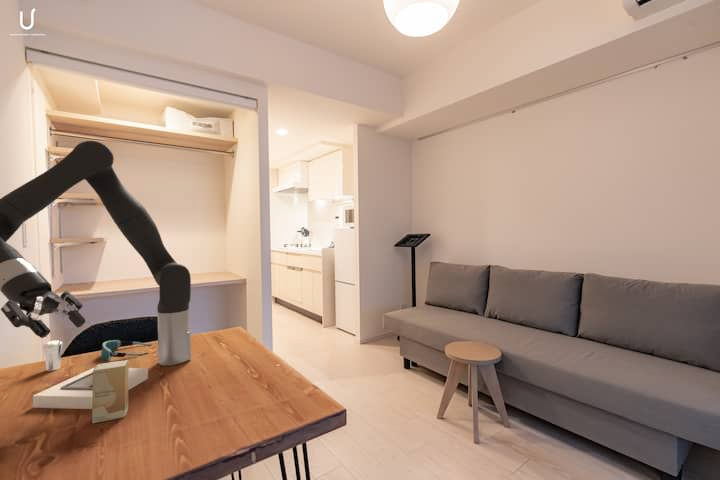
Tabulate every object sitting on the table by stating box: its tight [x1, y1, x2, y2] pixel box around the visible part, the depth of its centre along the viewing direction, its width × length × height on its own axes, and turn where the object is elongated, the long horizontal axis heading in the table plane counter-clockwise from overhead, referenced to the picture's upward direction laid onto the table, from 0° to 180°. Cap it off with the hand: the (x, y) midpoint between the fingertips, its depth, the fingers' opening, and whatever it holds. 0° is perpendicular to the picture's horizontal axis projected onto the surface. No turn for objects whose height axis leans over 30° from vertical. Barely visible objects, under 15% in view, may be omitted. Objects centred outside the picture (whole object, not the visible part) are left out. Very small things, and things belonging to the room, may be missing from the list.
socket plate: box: [32, 367, 149, 410], centre depth 87 cm, size 17×17×3 cm
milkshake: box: [42, 338, 63, 372], centre depth 103 cm, size 4×5×10 cm
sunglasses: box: [100, 339, 153, 361], centre depth 117 cm, size 14×15×5 cm
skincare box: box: [91, 359, 130, 424], centre depth 75 cm, size 6×4×12 cm
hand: (65, 329), depth 76 cm, fingers open, 8 cm apart
